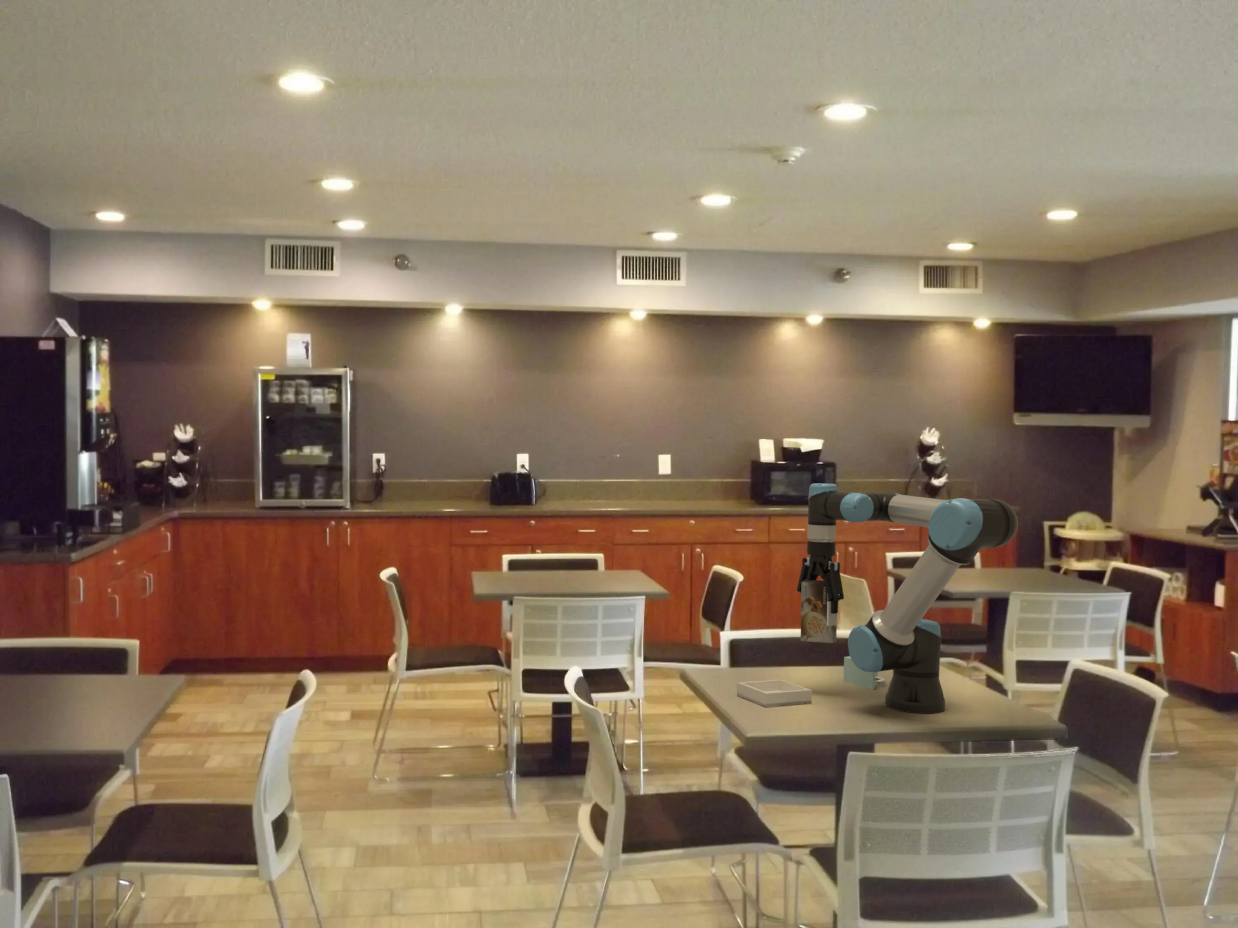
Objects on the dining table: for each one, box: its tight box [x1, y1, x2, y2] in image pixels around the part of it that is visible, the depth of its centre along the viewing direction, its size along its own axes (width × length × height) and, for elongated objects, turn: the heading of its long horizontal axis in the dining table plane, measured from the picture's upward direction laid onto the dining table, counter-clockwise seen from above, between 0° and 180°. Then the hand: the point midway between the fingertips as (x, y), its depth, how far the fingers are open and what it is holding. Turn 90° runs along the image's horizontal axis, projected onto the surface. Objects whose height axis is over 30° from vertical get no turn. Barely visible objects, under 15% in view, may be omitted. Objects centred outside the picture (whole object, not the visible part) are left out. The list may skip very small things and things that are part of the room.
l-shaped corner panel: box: [842, 655, 887, 690], centre depth 322 cm, size 12×12×8 cm
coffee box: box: [800, 579, 838, 644], centre depth 306 cm, size 9×6×16 cm
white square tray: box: [736, 678, 813, 708], centre depth 298 cm, size 14×14×4 cm
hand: (819, 622), depth 306 cm, fingers closed on coffee box, 11 cm apart
